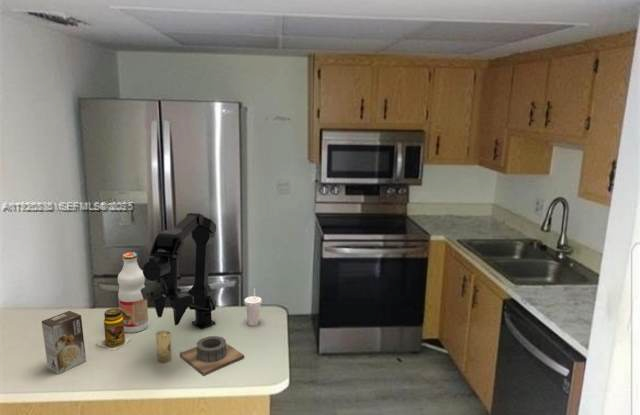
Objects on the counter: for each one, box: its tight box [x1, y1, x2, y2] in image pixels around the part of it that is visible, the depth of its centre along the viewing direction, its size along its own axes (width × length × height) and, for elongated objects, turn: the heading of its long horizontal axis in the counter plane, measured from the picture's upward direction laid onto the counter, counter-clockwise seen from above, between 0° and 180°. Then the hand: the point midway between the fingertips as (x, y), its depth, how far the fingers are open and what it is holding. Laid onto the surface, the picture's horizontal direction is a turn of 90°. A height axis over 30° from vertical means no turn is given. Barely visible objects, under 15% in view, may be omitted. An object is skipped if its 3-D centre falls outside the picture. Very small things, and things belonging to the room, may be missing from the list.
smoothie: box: [244, 288, 263, 327], centre depth 177 cm, size 6×6×14 cm
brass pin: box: [155, 329, 173, 364], centre depth 153 cm, size 4×4×9 cm
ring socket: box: [179, 335, 245, 376], centre depth 155 cm, size 15×15×5 cm
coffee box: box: [41, 310, 87, 375], centre depth 147 cm, size 9×6×16 cm
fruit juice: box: [117, 251, 149, 334], centre depth 171 cm, size 9×9×28 cm
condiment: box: [96, 307, 132, 351], centre depth 162 cm, size 7×8×12 cm
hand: (168, 321), depth 150 cm, fingers open, 9 cm apart
